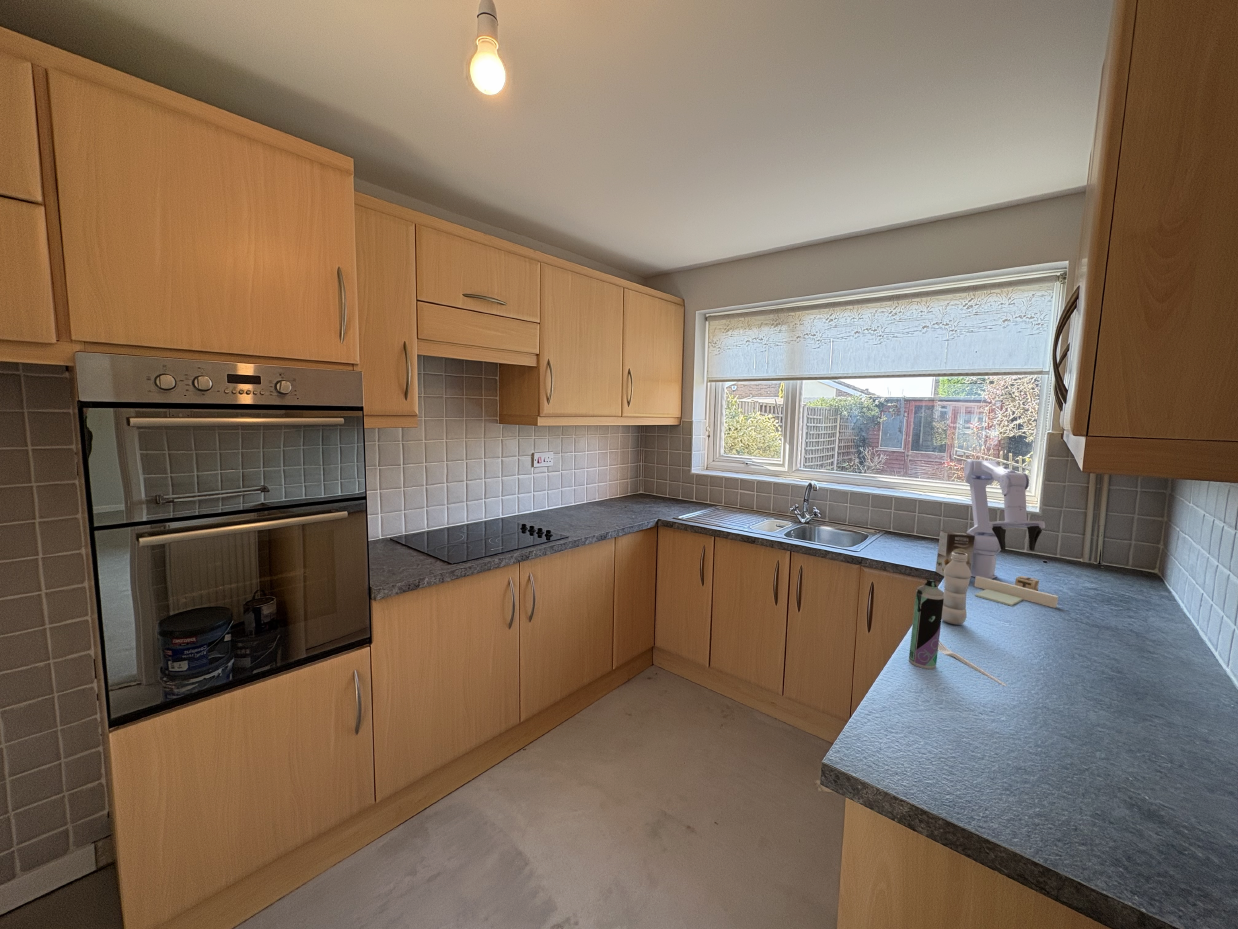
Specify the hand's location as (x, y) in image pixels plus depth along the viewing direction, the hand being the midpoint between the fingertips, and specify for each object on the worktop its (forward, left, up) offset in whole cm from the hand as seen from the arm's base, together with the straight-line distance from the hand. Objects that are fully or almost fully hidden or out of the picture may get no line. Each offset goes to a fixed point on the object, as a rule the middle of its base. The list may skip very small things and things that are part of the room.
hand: (1017, 550), depth 164 cm
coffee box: (-10, -21, -16) cm, 29 cm away
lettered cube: (-11, +1, -16) cm, 20 cm away
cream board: (-3, 0, -16) cm, 16 cm away
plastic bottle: (+41, -1, -16) cm, 44 cm away
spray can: (+75, +5, -16) cm, 77 cm away
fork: (+65, +11, -17) cm, 68 cm away
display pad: (+4, -2, -16) cm, 17 cm away
